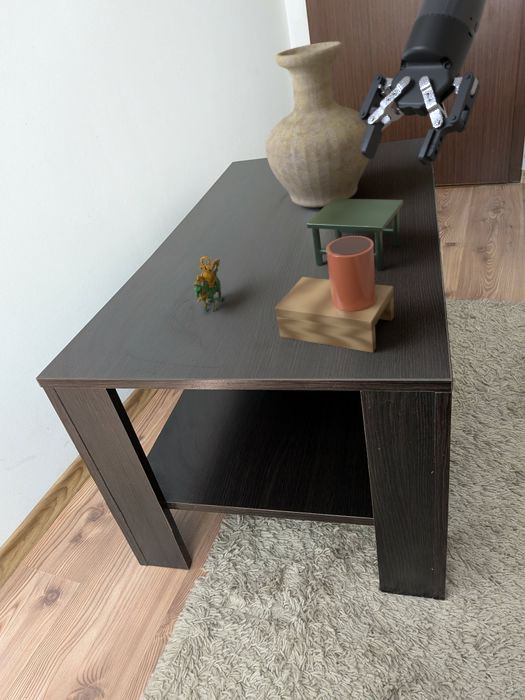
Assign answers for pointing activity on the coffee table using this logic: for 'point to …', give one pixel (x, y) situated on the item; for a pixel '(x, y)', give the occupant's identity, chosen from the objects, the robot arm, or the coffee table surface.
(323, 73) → the vase
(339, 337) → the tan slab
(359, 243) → the cup
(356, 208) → the green miniature table
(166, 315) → the coffee table surface
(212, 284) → the figurine
